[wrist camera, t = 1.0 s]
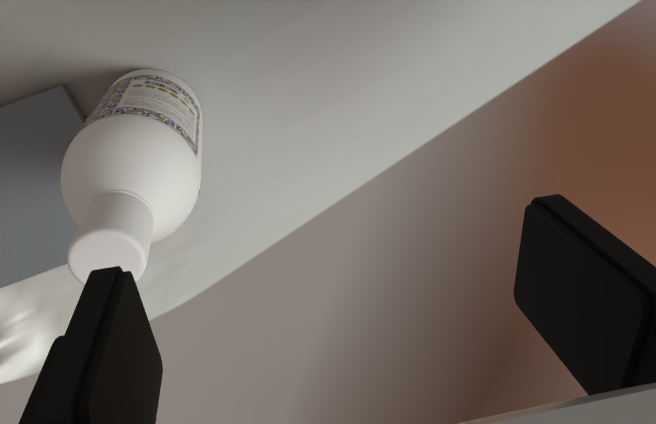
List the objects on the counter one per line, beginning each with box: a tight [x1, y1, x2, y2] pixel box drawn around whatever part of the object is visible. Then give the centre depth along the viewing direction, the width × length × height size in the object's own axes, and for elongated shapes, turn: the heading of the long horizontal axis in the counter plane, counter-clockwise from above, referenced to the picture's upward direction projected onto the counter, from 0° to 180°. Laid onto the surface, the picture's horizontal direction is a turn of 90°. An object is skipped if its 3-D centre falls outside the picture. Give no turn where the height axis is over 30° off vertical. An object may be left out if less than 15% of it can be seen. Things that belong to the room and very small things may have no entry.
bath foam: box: [61, 69, 202, 285], centre depth 28 cm, size 7×7×20 cm
